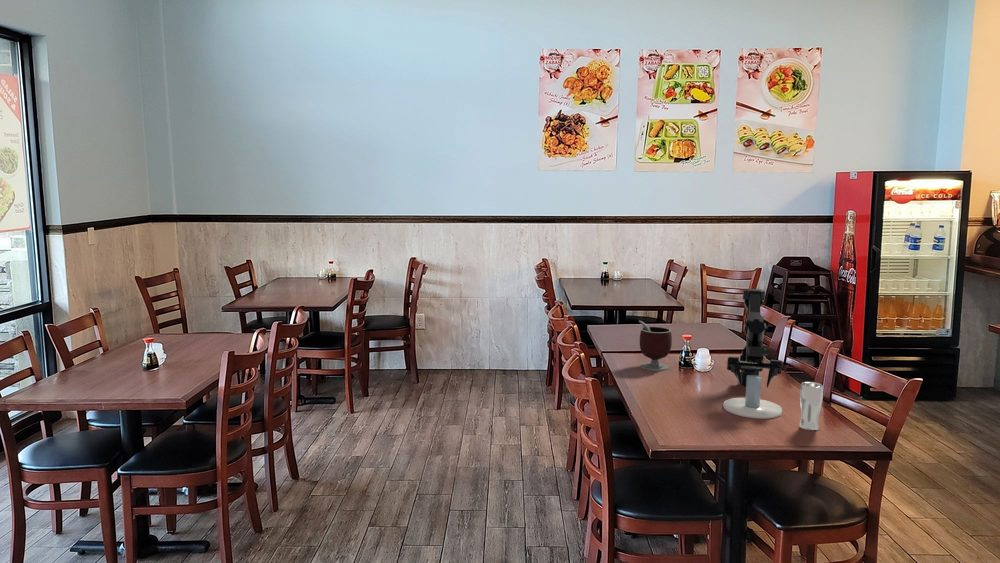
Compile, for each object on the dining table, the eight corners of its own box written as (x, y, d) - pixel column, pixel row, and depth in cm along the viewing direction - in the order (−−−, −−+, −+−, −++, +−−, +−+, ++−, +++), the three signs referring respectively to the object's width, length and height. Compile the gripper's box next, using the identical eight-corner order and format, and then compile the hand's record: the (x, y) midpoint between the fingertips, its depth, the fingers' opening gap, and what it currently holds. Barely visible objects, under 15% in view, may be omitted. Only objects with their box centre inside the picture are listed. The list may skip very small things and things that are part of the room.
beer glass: (807, 432, 231) (810, 388, 228) (793, 425, 237) (796, 382, 235) (825, 430, 232) (828, 386, 230) (810, 423, 239) (813, 380, 237)
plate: (764, 399, 264) (764, 396, 264) (793, 417, 245) (793, 414, 245) (714, 401, 262) (714, 398, 262) (738, 419, 242) (739, 416, 242)
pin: (748, 403, 257) (749, 374, 255) (761, 405, 253) (763, 376, 252) (742, 406, 253) (744, 376, 251) (756, 409, 250) (758, 379, 248)
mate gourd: (676, 367, 310) (678, 322, 307) (660, 373, 300) (662, 327, 297) (645, 360, 320) (647, 318, 317) (629, 366, 310) (631, 322, 307)
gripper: (728, 335, 256) (727, 372, 247) (783, 338, 250) (784, 376, 242) (727, 351, 265) (726, 387, 256) (780, 355, 259) (780, 392, 250)
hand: (753, 385), depth 251 cm, fingers open, 9 cm apart
